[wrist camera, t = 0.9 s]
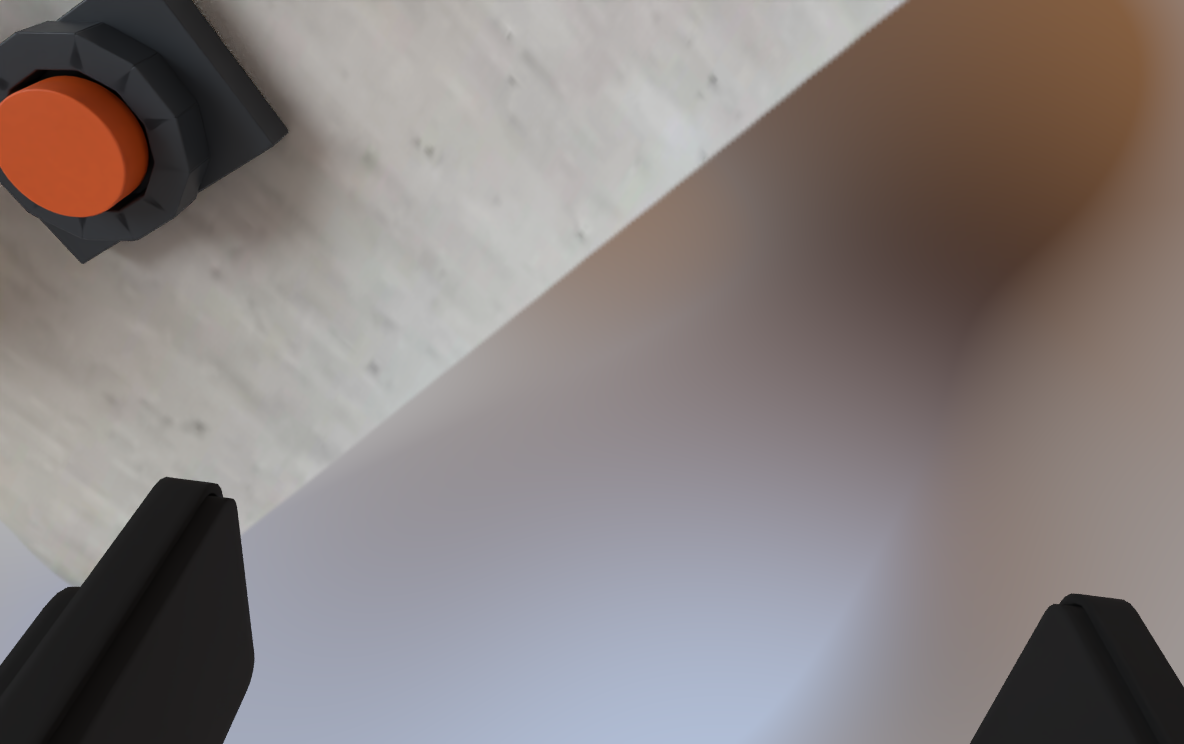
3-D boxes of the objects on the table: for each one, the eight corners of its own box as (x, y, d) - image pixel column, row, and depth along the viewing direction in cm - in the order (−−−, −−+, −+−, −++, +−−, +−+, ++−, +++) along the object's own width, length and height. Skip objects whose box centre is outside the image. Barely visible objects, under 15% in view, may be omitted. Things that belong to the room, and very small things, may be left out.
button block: (106, 250, 37) (59, 288, 34) (-37, 93, 33) (-103, 120, 30) (292, 135, 34) (259, 165, 31) (155, -50, 30) (103, -35, 27)
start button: (88, 219, 33) (62, 239, 31) (-7, 114, 31) (-40, 129, 29) (176, 163, 31) (153, 181, 30) (82, 50, 29) (52, 62, 28)
